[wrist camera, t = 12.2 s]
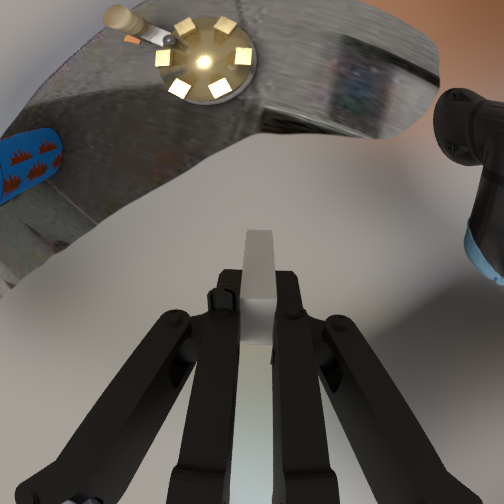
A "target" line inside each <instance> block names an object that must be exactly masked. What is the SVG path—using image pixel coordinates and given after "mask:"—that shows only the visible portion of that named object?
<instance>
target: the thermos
mask: <svg viewBox="0 0 504 504" xmlns="http://www.w3.org/2000/svg"><path fill="white" fill-rule="evenodd" d="M62 157H63V149H62V144H61V140H60V138H59V136H58V135H57V133H56V132H55V131H54V130H52V129H51V128H39V129H33V130H29V131H26V132H22V133H18V134H15V135H12V136H8V137H5V138H2V139H0V205H1V204H3V203H4V202H6V201H8V200H9V199H11V198H13V197H14V196H16V195H18V194H20V193H21V192H23V191H25V190H27V189H29V188H31V187H32V186H34V185H36V184H38V183H40V182H42V181H44V180H45V179H47V178H48V177H50V176H52V175H53V174H54V173H55V172H57V171H58V169H59V167H60V165H61V162H62Z"/></svg>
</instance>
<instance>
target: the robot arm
mask: <svg viewBox="0 0 504 504" xmlns="http://www.w3.org/2000/svg"><path fill="white" fill-rule="evenodd" d="M433 126H434V133H435V137H436V140H437V142H438V145H439V147H440V148H441V150H442V152H443V153H444V154H445V155H446V156H447V157H448V158H449V159H450V160H452V161H454V162H456V163H458V164H461V165H464V166H475V165H483V170H482V175H481V179H480V183H479V187H478V191H477V195H476V199H475V203H474V206H473V209H472V213H471V216H470V218H469V219H468V224H467V230H466V234H465V237H464V247H465V252H466V254H467V256H468V258H469V260H470V261H471V262H472V264H473V265H474V266H475V267H476V268H477V269H478V270H479V271H480V272H481V273H482V274H483V275H485V276H486V277H487V278H488V279H493V280H494V282H495V283H497V284H499V285H503V286H504V102H497V101H490V100H487V99H485V98H484V97H482V96H480V95H478V94H477V93H475V92H473V91H471V90H468V89H465V88H452V89H449V90H447V91H445V92H444V93H443V94H442V95H441V96H440V98H439V99H438V101H437V103H436V106H435V110H434V117H433ZM207 299H208V311H207V312H206V313H204V314H201V315H197V316H192V317H190V315H189V314H188V313H187V312H185V311H183V310H178V309H175V310H169V311H167V312H165V313H164V314H162V315H161V316H160V318H159V319H158V320H157V322H156V323H155V324H154V326H153V327H152V328H151V330H150V331H149V332H148V333H147V335H146V336H145V337H144V339H143V340H142V341H141V343H140V344H139V345H138V346H137V348H136V349H135V350H134V352H133V353H132V355H131V356H130V357H129V358H128V360H127V361H126V362H125V364H124V365H123V366H122V368H121V369H120V371H119V372H118V373H117V374H116V376H115V377H114V379H113V380H112V381H111V383H110V384H109V385H108V387H107V388H106V389H105V391H104V392H103V394H102V395H101V396H100V398H99V399H98V400H97V402H96V403H95V405H94V406H93V407H92V409H91V410H90V412H89V413H88V414H87V416H86V417H85V419H84V420H83V422H82V423H81V424H80V426H79V427H78V429H77V430H76V432H75V433H74V434H73V436H72V437H71V439H70V440H69V442H68V443H67V445H66V446H65V448H64V449H63V451H62V452H61V454H60V455H59V456H58V458H57V459H56V461H54V462H53V463H51V464H50V465H48V466H47V467H45V468H44V469H42V470H41V471H39V472H38V473H36V474H34V475H33V476H31V477H30V478H29V479H27V480H25V481H24V482H22V483H20V484H19V486H18V487H17V488H16V491H15V501H16V504H117V503H118V501H119V500H120V499H121V497H122V496H123V494H124V493H125V491H126V489H127V488H128V486H129V484H130V482H131V480H132V479H133V477H134V475H135V473H136V471H137V470H138V468H139V466H140V464H141V462H142V460H143V459H144V457H145V455H146V453H147V451H148V449H149V448H150V446H151V444H152V442H153V441H154V439H155V437H156V435H157V433H158V431H159V430H160V428H161V426H162V424H163V422H164V421H165V419H166V417H167V415H168V413H169V412H170V410H171V408H172V406H173V404H174V403H175V401H176V399H177V397H178V395H179V393H180V392H181V390H182V388H183V386H184V384H185V382H186V381H187V379H188V377H189V375H190V373H191V371H192V370H193V368H194V366H195V364H196V361H197V365H196V370H195V375H194V380H193V385H192V390H191V395H190V400H189V405H188V410H187V415H186V422H185V426H184V431H183V437H182V443H181V448H180V454H179V459H178V463H177V465H176V466H175V467H174V468H173V470H172V473H171V477H170V482H169V488H168V494H167V500H166V504H229V500H230V499H229V498H230V474H231V461H232V447H233V434H234V420H235V407H236V392H237V380H238V379H237V378H238V365H239V353H240V352H239V351H240V344H250V345H251V344H252V345H272V342H273V348H272V357H271V364H272V384H273V385H272V389H273V390H272V392H273V495H272V504H340V499H339V489H338V481H337V476H336V474H335V472H334V471H333V470H332V469H331V467H330V462H329V453H328V445H327V437H326V429H325V421H324V414H323V407H322V400H321V393H320V386H319V380H318V376H319V378H320V380H321V382H322V384H323V386H324V388H325V391H326V393H327V395H328V397H329V399H330V401H331V403H332V406H333V408H334V410H335V412H336V414H337V416H338V419H339V421H340V423H341V425H342V427H343V429H344V431H345V434H346V436H347V438H348V440H349V442H350V445H351V447H352V449H353V451H354V453H355V455H356V457H357V460H358V462H359V464H360V466H361V468H362V471H363V473H364V475H365V477H366V479H367V482H368V484H369V486H370V488H371V490H372V493H373V495H374V497H375V499H376V501H377V502H378V504H483V502H482V500H481V499H480V498H479V496H477V495H476V494H475V493H473V492H472V491H471V490H470V489H469V488H467V487H466V486H465V485H463V484H462V483H461V482H460V481H458V480H457V479H456V478H455V477H454V476H452V475H451V474H450V473H449V472H447V470H446V468H445V467H444V465H443V463H442V462H441V460H440V458H439V456H438V454H437V453H436V451H435V449H434V447H433V446H432V444H431V442H430V441H429V439H428V437H427V435H426V434H425V432H424V430H423V429H422V427H421V425H420V424H419V422H418V420H417V419H416V417H415V416H414V414H413V412H412V411H411V409H410V408H409V406H408V404H407V403H406V401H405V399H404V398H403V396H402V395H401V393H400V392H399V390H398V388H397V387H396V385H395V384H394V382H393V380H392V379H391V377H390V376H389V374H388V373H387V371H386V370H385V368H384V367H383V365H382V363H381V362H380V360H379V359H378V357H377V356H376V355H375V353H374V351H373V350H372V349H371V347H370V345H369V344H368V342H367V341H366V340H365V338H364V337H363V335H362V334H361V332H360V331H359V329H358V328H357V326H356V325H355V323H354V322H353V321H352V320H351V319H350V318H348V317H346V316H343V315H332V316H329V317H328V318H327V319H326V321H323V320H319V319H315V318H313V317H311V316H309V315H308V314H307V312H306V310H305V309H304V308H303V305H302V300H301V294H300V289H299V284H298V278H297V276H296V275H295V274H294V272H293V271H275V264H274V250H273V238H272V231H269V230H267V231H266V230H247V233H246V242H245V252H244V262H243V270H234V269H224V270H223V271H222V272H221V273H220V274H219V278H218V282H217V287H216V288H214V289H212V290H211V291H209V293H208V294H207Z"/></svg>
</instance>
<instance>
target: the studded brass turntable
mask: <svg viewBox="0 0 504 504" xmlns="http://www.w3.org/2000/svg"><path fill="white" fill-rule="evenodd" d="M103 23H104V24H105V25H106V26H109V27H111V28H114V29H116V30H118V31H121V32H123V33H126V34H128V35H130V36H132V37H135V38H137V39H139V40H141V41H143V42H153V43H155V44H157V45H159V46H162V48H161V50H159V51H156V61H155V67H158V68H159V71H160V75H161V77H162V79H163V81H164V83H165V84H166V86H167V87H168V88H169V91H170V92H172V93H174V94H175V95H177V96H179V97H181V98H183V99H188V100H193V101H215V100H219V99H222V98H225V97H227V96H229V95H231V94H233V93H234V92H235V91H237V90H238V89H239V88H240V87H241V86H242V85H243V84H244V83H245V81H246V80H247V78H248V76H249V74H250V72H251V69H252V64H253V54H252V47H251V44H250V41H249V39H248V37H247V36H246V34H245V33H244V32H243V31H242V30H241V28H239V27H238V24H237V23H235V22H233V21H231V20H229V19H227V18H225V17H223V16H222V17H221V18H215V17H205V18H199V19H194V20H192V19H191V18H190V17H189V18H187V19H185V20H183V21H182V22H180V23H178V24H176V25H174V27H175V28H176V30H174V31H173V32H172V33H170V32H167V31H165V30H163V29H160V28H158V27H156V26H154V25H153V24H151V23H150V22H148V21H147V20H145V19H143V18H142V17H140V16H139V15H137V14H135V13H134V12H132V11H130V10H129V9H127V8H125V7H124V6H122V5H114V6H112V7H110V8H109V9H108V10H107V11H106V12H105V14H104V16H103Z"/></svg>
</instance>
